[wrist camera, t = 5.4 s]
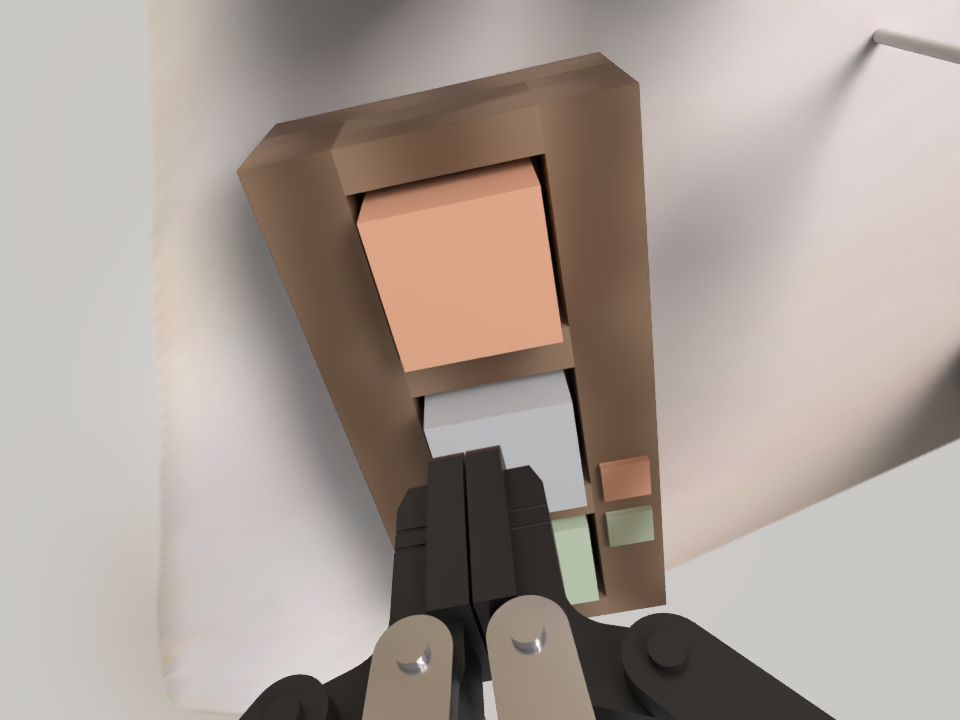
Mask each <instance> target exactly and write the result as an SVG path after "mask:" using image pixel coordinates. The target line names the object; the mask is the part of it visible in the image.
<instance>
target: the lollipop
mask: <svg viewBox="0 0 960 720" xmlns="http://www.w3.org/2000/svg"><path fill="white" fill-rule="evenodd" d="M873 40H874V42H876V43H880V44H884V45H888V46H892V47H895V48H899V49H903V50H907V51H911V52H915V53H918V54H922V55H926V56H930V57H934V58H938V59H942V60H945V61H949V62H953V63H957V64H960V46H958V45H954V44H949V43H945V42H941V41H936V40H932V39H927V38H923V37H918V36H914V35H909V34H905V33H900V32H896V31H891V30H887V29H882V28H881V29H878V30H877V31H876V32H875V33H874V35H873Z"/></svg>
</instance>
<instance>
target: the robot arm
mask: <svg viewBox="0 0 960 720" xmlns="http://www.w3.org/2000/svg"><path fill="white" fill-rule="evenodd" d="M491 680H492V682H493V689H494V695H495V702H496V708H497V715H498V720H836V719H834V718H833V717H831V716H830V715H828V714H827V713H825V712H824V711H822V710H821V709H820V708H818V707H817V706H815V705H814V704H812V703H811V702H809V701H808V700H806V699H805V698H803V697H802V696H801V695H799V694H798V693H796V692H795V691H793V690H792V689H790V688H789V687H787V686H786V685H785V684H783V683H782V682H780V681H779V680H777V679H776V678H774V677H773V676H771V675H770V674H769V673H767V672H766V671H764V670H763V669H761V668H760V667H758V666H757V665H755V664H754V663H752V662H751V661H750V660H748V659H746V658H745V657H744V656H742V655H741V654H739V653H738V652H736V651H735V650H733V649H732V648H731V647H729V646H728V645H726V644H725V643H723V642H722V641H720V640H719V639H717V638H716V637H715V636H713V635H712V634H710V633H709V632H707V631H706V630H704V629H703V628H701V627H700V626H698V625H697V624H696V623H694V622H692V621H691V620H689V619H687V618H684V617H682V616H680V615H675V614H669V613H656V614H652V615H648V616H645V617H643V618H641V619H640V620H638V621H636V622H635V623H634V624H633V625H632V626H631V627H630V628H628V627H621V626H615V625H608V624H602V623H598V622H595V621H593V620H590V619H588V618H587V617H585V616H583V615H582V614H580V613H579V612H578V611H577V610H576V609H575V608H574V607H573V606H572V605H571V604H570V602H569V601H568V599H567V597H566V593H565V588H564V583H563V578H562V573H561V567H560V562H559V557H558V552H557V547H556V541H555V536H554V531H553V526H552V522H551V517H550V513H549V508H548V503H547V499H546V494H545V490H544V485H543V481H542V480H541V479H540V478H539V476H538V475H537V474H536V473H535V472H534V470H533V469H532V468H531V467H530V465H526V466H521V467H516V468H511V469H506V465H505V461H504V457H503V454H502V450H501V447H500V445H496V446H491V447H486V448H481V449H476V450H470V451H466V452H465V454H464V452H461V453H456V454H451V455H446V456H441V457H436V458H431V459H429V461H428V485H424V486H419V487H414V488H409V489H408V490H407V492H406V494H405V496H404V498H403V500H402V502H401V503H400V505H399V507H398V509H397V521H396V536H395V554H394V565H393V580H392V595H391V610H390V621H389V627H388V629H387V630H386V631H385V632H384V633H383V634H382V636H381V637H380V639H379V640H378V642H377V644H376V646H375V649H374V652H373V654H372V655H371V656H370V657H369V658H368V659H367V660H366V661H364V662H363V663H362V664H360V665H359V666H357V667H355V668H354V669H352V670H350V671H348V672H346V673H344V674H342V675H340V676H338V677H336V678H334V679H332V680H330V681H329V682H327V683H325V684H323V685H322V684H321V683H320V682H319V681H318V680H317V679H315V678H314V677H312V676H308V675H301V674H298V675H292V676H288V677H285V678H283V679H281V680H278V681H277V682H275V683H274V684H272V685H271V686H269V687H268V688H267V689H266V690H265V691H264V692H263V693H262V694H261V695H260V696H259V697H258V698H257V699H256V700H255V702H254V703H253V704H252V705H251V706H250V707H249V708H248V710H247V711H246V712H245V713H244V714H243V715H242V717H241V718H240V719H239V720H486V719H485V716H484V699H483V683H482V682H485V681H491Z"/></svg>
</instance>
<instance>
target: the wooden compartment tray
mask: <svg viewBox="0 0 960 720" xmlns="http://www.w3.org/2000/svg"><path fill="white" fill-rule="evenodd" d="M525 157H530V160H531V163H532V165H533V168H534V170H535V173H536V175H537V178H538V181H539V183H540V186H541V193H542V200H543V207H544V213H545V220H546V227H547V234H548V241H549V247H550V254H551V261H552V268H553V275H554V282H555V288H556V295H557V302H558V309H559V316H560V322H561V329H562V336H563V342H560V343H555V344H549V345H544V346H539V347H534V348H529V349H523V350H518V351H513V352H508V353H503V354H498V355H492V356H487V357H482V358H477V359H472V360H466V361H461V362H456V363H451V364H446V365H440V366H435V367H430V368H425V369H420V370H415V371H409V372H405V371H404V368H403V365H402V362H401V359H400V355H399V352H398V349H397V346H396V343H395V340H394V337H393V334H392V331H391V328H390V325H389V322H388V319H387V316H386V312H385V309H384V306H383V303H382V300H381V297H380V294H379V291H378V288H377V285H376V282H375V279H374V276H373V272H372V269H371V266H370V263H369V260H368V257H367V254H366V251H365V248H364V245H363V242H362V239H361V236H360V233H359V229H358V226H357V221H358V218H359V214H360V211H361V207H362V204H363V200H364V197H365V193H366V191H370V190H375V189H380V188H384V187H389V186H394V185H398V184H403V183H408V182H412V181H417V180H422V179H427V178H431V177H436V176H441V175H445V174H450V173H455V172H459V171H464V170H469V169H473V168H478V167H483V166H487V165H492V164H497V163H501V162H506V161H511V160H516V159H520V158H525ZM237 173H238V176H239V178H240V181H241V183H242V185H243V188H244V190H245V192H246V195H247V197H248V200H249V202H250V204H251V207H252V209H253V212H254V214H255V216H256V219H257V221H258V224H259V226H260V228H261V231H262V233H263V236H264V238H265V240H266V243H267V245H268V248H269V250H270V252H271V255H272V257H273V259H274V262H275V264H276V267H277V269H278V271H279V274H280V276H281V279H282V281H283V283H284V286H285V288H286V291H287V293H288V295H289V298H290V300H291V303H292V305H293V307H294V310H295V312H296V315H297V317H298V319H299V322H300V324H301V326H302V329H303V331H304V334H305V336H306V338H307V341H308V343H309V346H310V348H311V350H312V353H313V355H314V358H315V360H316V362H317V365H318V367H319V370H320V372H321V374H322V377H323V379H324V382H325V384H326V386H327V389H328V391H329V393H330V396H331V398H332V401H333V403H334V405H335V408H336V410H337V413H338V415H339V417H340V420H341V422H342V425H343V427H344V429H345V432H346V434H347V437H348V439H349V441H350V444H351V446H352V448H353V451H354V453H355V456H356V458H357V460H358V463H359V465H360V468H361V470H362V472H363V475H364V477H365V480H366V482H367V484H368V487H369V489H370V492H371V494H372V496H373V499H374V501H375V504H376V506H377V508H378V511H379V513H380V515H381V518H382V520H383V523H384V525H385V527H386V530H387V532H388V535H389V537H390V539H391V542H392V544H393V547H394V549H395V536H396V521H397V509H398V507H399V505H400V503H401V502H402V500H403V498H404V496H405V494H406V492H407V490H408V489H409V488H414V487H419V486H424V485H428V461H429V459H431V458H433V457H432V454H431V451H430V448H429V445H428V441H427V438H426V435H425V432H424V407H425V395H430V394H435V393H441V392H446V391H451V390H456V389H462V388H467V387H472V386H477V385H483V384H488V383H493V382H498V381H504V380H509V379H514V378H520V377H525V376H530V375H535V374H541V373H546V372H551V371H556V370H562V369H563V371H564V375H565V378H566V382H567V385H568V389H569V393H570V396H571V400H572V404H573V411H574V418H575V425H576V431H577V438H578V445H579V452H580V459H581V466H582V472H583V479H584V486H585V493H586V500H587V506H584V507H578V508H573V509H567V510H561V511H555V512H550V517H551V520H556V519H562V518H568V517H574V516H579V515H586V519H587V523H588V528H589V534H590V541H591V548H592V554H593V561H594V568H595V574H596V581H597V588H598V595H599V600H597V601H591V602H585V603H579V604H573V605H572V606H573V607H574V608H575V609H576V610H577V611H578V612H579V613H580V614H582V615H583V616H585V617H593V616H600V615H606V614H612V613H618V612H624V611H630V610H636V609H642V608H649V607H654V606H661V605H666V592H665V573H664V553H663V534H662V515H661V496H660V477H659V457H658V438H657V419H656V400H655V380H654V361H653V342H652V323H651V304H650V284H649V265H648V246H647V227H646V207H645V188H644V169H643V150H642V131H641V111H640V92H639V83H638V82H637V81H636V80H634V79H633V78H632V77H631V76H629V75H628V74H627V73H625V72H624V71H623V70H621V69H620V68H619V67H618V66H616V65H615V64H614V63H612V62H611V61H610V60H609V59H607V58H606V57H605V56H603V55H602V54H601V53H600V52H598V53H594V54H589V55H585V56H580V57H576V58H571V59H567V60H562V61H558V62H553V63H549V64H544V65H540V66H535V67H531V68H526V69H522V70H517V71H513V72H508V73H504V74H499V75H495V76H490V77H486V78H481V79H477V80H472V81H468V82H463V83H459V84H455V85H450V86H446V87H441V88H437V89H432V90H428V91H423V92H419V93H414V94H410V95H405V96H401V97H396V98H392V99H387V100H383V101H378V102H374V103H369V104H365V105H360V106H356V107H351V108H347V109H342V110H338V111H333V112H329V113H324V114H320V115H315V116H311V117H306V118H302V119H297V120H293V121H288V122H284V123H280V124H276V125H275V126H274V127H273V129H272V130H271V131H270V132H269V133H268V134H267V136H266V137H265V138H264V139H263V140H262V142H261V143H260V144H259V145H258V146H257V147H256V149H255V150H254V151H253V152H252V153H251V155H250V156H249V157H248V158H247V159H246V160H245V162H244V163H243V164H242V165H241V166H240V168H239V169H238V170H237Z"/></svg>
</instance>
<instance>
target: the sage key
mask: <svg viewBox="0 0 960 720" xmlns="http://www.w3.org/2000/svg"><path fill="white" fill-rule="evenodd" d="M551 522H552V526H553V531H554V536H555V541H556V547H557V552H558V557H559V562H560V567H561V573H562V578H563V583H564V588H565V593H566V597H567V599H568V601H569V602H570V604H571V605H573V604H579V603H585V602H591V601H597V600H599V595H598V588H597V581H596V574H595V568H594V561H593V554H592V548H591V541H590V534H589V528H588V523H587V519H586V515H579V516H574V517H568V518H562V519H556V520H551Z"/></svg>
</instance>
